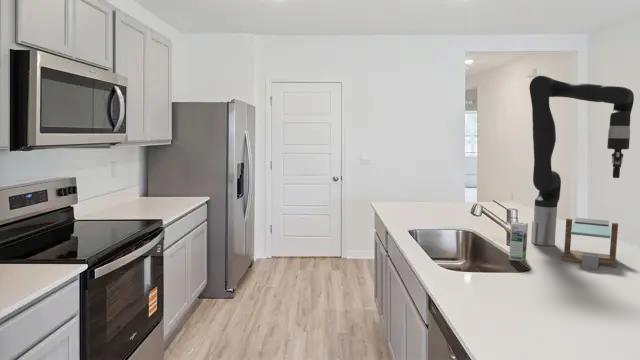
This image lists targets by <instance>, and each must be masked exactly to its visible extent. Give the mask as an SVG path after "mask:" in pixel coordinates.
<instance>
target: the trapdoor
mask: <svg viewBox="0 0 640 360" xmlns="http://www.w3.org/2000/svg"><path fill="white" fill-rule="evenodd" d="M571 235H574V236H584V237H594V238H602V239H611V226H610V221H609V220H605V219H604V220H603V219H595V218H594V219H592V218H582V217H575V220H574V222H572V230H571Z"/></svg>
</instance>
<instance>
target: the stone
mask: <svg viewBox="0 0 640 360" xmlns="http://www.w3.org/2000/svg"><path fill="white" fill-rule="evenodd" d="M585 252H586V251H583V258H582V263H581V269H586V270H592V269H593V270H594V271H598V270H599V265H598V261H599V255H598V254H593V253H594V252H591V253H585Z"/></svg>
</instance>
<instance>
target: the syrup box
mask: <svg viewBox="0 0 640 360" xmlns="http://www.w3.org/2000/svg"><path fill="white" fill-rule="evenodd" d="M528 226H529V223H528V222H520V221H518V222H517V221H512V222H511V224H510V243H509V246H510V247H509V257H508V259H509V261H517V262H526V260H527V250H528V249H527V247H528V230H529V228H528Z"/></svg>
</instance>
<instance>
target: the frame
mask: <svg viewBox="0 0 640 360" xmlns="http://www.w3.org/2000/svg"><path fill="white" fill-rule="evenodd" d="M572 226H573V218H566V219H565V233H564V234H565V235H564V250H563V254H562V257H561V261H563V262H570V263H578V264H582V258H583V252H585V253H593V254H598V255H599V261H598V267H599V266H601V267H607V268H616V269H617V259H616V257H617V245H618V233H619V232H618V228H619V223H618V222H611V229H610V244H609V245H610V247H609V254H607V253H601V252H599V253H598V252H590V251H589V252H588V251H581V250H574V249H571V245H572V234H571V230H572Z"/></svg>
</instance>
